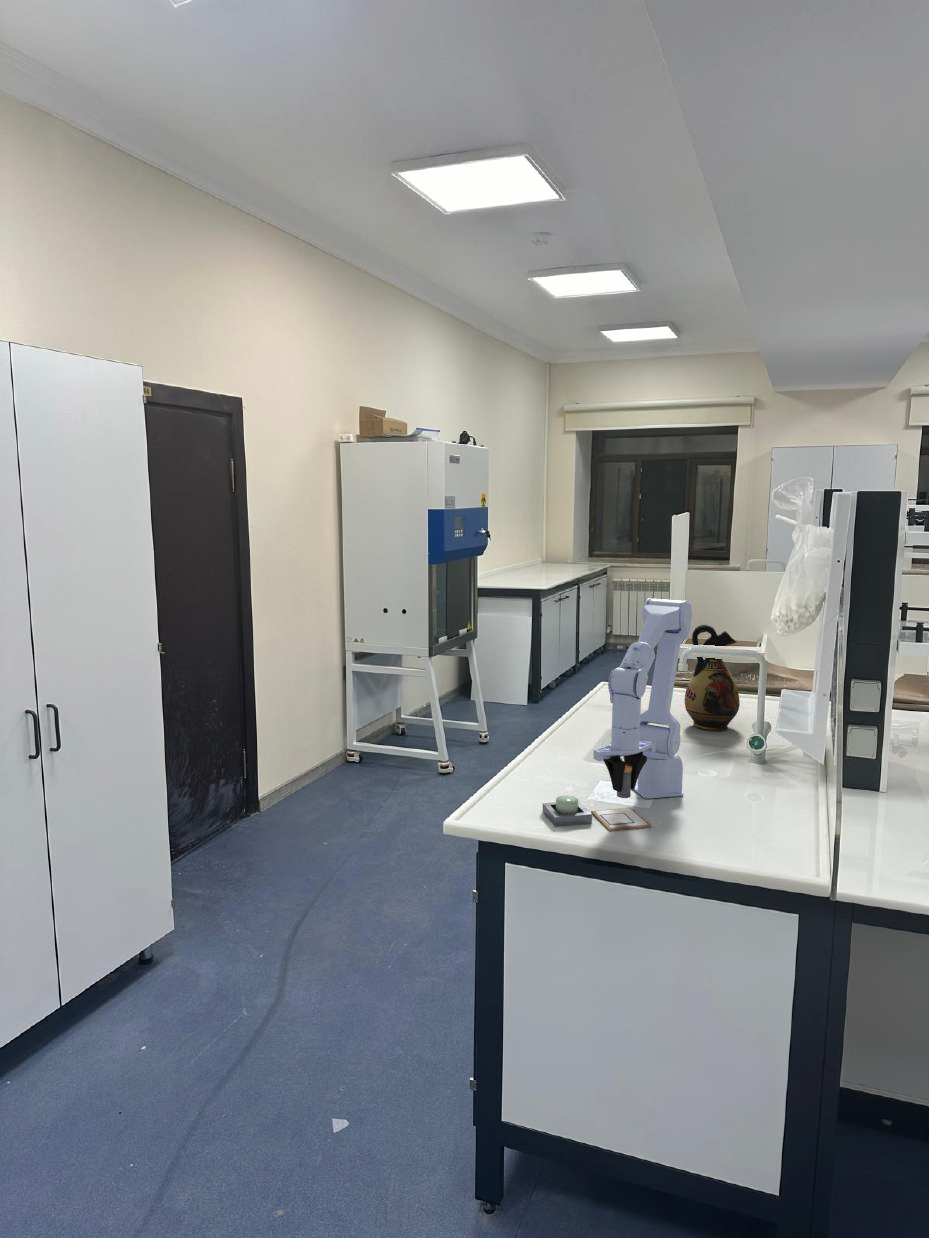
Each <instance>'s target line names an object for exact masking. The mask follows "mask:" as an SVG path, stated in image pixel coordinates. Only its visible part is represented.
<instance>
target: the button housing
mask: <svg viewBox="0 0 929 1238" xmlns="http://www.w3.org/2000/svg"><path fill="white" fill-rule="evenodd" d="M542 813H543V815H544V816H545V817H546V818H547V820H548V821H549V822H550V823H551V824H552V825H553V826H554V827H555V828H557V827H567V826H568V827H570V826H578V825H590V824H593V814H592V813H591V811H590V810H588V809H587V807H586V806H584V804H582V803H581V801H579V800H578V813H573V814H562V815H561V814H558V813H557V812H556V801H555V802H542Z"/></svg>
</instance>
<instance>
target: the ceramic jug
mask: <svg viewBox="0 0 929 1238" xmlns="http://www.w3.org/2000/svg"><path fill="white" fill-rule="evenodd" d="M703 633H708V634H710V637H708V638H707V639H706V640H705V641H704V642H703V644H702V646H703V645H715V646H726V647H728V646H732V645H735V644H736V643H737V641H736V640H735V639H733V637H732V636H731V635H730V634H729V633H728V632H727V631H726V630H724V631H723V632H721V633H720V634H717V632H716V629H715V628H714V627H712V626H711V625H708V624H700V625H698V626H697V627H695V629H694V630H693V632H692V636H691V642H692V646H693V645H699V646H700V644H699V638H698V637H699V635H700V634H703ZM696 658H697V659H696V660H697V662H696V665H695V667H694V668H695V669H694V672H693V675H692V676H691V678H690V680H689V682H688V684H687V685H686V686H687V687H686V688H685V694H684V708H685V711H686V713H687V714H688V715H689V716H690V718H691V719H692V721H693V724H692V725H693V726H695V728H699V729H703V730H706V731H716V732H722V731H726V730H728V729H729V727H728V726H729V724H730V723H731V722H732V721H733V719H735V717H736V716H737V714H738V712H739V709H740V707H741V706H740V694H739V688H738V686H737V683H736V681H735V679H734V677H733V675H732V673H731V672H730V670H729V668H728V667H727V664H726V663H725V662H724V660H723V659H715V658H706V657H705V658H704V657H703V656H702V657H696Z"/></svg>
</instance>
